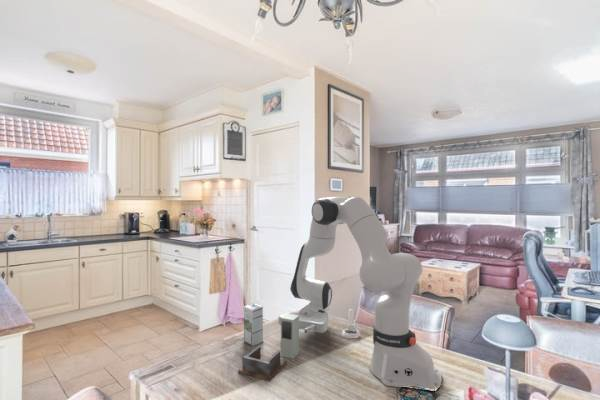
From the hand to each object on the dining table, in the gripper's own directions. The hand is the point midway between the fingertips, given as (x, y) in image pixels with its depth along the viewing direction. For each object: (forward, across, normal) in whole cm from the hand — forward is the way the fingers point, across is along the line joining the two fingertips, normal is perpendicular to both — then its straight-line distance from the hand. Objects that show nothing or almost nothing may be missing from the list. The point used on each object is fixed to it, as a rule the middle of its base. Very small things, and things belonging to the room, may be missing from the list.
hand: (294, 329), depth 121 cm
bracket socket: (+16, -4, +8) cm, 19 cm away
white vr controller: (-22, +16, +8) cm, 29 cm away
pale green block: (+4, 0, +8) cm, 9 cm away
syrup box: (+1, -18, +8) cm, 20 cm away
